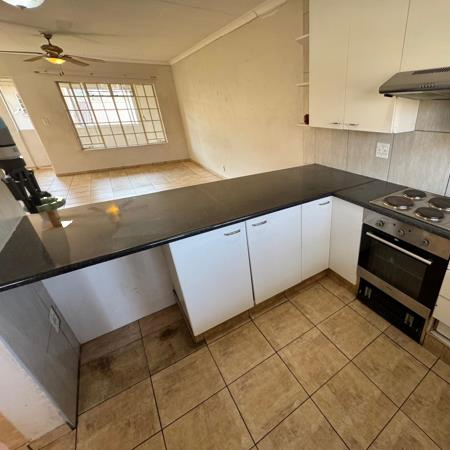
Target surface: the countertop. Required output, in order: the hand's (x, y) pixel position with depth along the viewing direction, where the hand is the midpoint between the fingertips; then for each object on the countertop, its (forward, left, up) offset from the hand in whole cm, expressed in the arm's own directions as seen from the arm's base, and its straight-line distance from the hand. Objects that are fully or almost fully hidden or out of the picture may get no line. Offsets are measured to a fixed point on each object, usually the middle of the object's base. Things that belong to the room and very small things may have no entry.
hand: (38, 211), depth 107 cm
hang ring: (0, +5, +1) cm, 6 cm away
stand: (-5, +13, -14) cm, 20 cm away
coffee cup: (-16, +27, -14) cm, 34 cm away
